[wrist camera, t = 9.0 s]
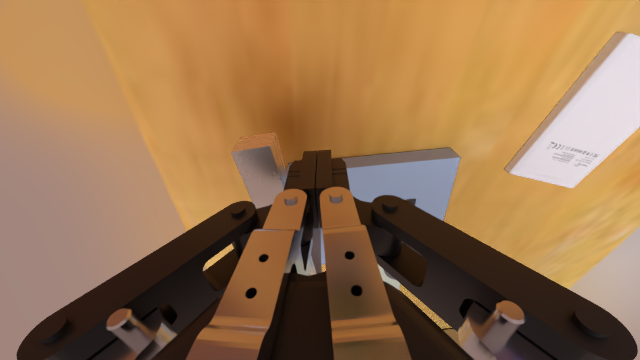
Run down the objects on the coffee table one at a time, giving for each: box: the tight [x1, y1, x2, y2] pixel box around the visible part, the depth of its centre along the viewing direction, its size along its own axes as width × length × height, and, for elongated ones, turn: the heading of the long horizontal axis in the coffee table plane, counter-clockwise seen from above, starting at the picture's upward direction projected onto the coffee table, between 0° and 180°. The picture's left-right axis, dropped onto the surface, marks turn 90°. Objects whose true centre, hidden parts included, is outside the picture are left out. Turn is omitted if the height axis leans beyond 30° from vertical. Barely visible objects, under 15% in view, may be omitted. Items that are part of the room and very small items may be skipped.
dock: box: [287, 148, 461, 274], centre depth 23 cm, size 14×16×9 cm
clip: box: [231, 132, 316, 275], centre depth 15 cm, size 4×16×2 cm, turn 9°
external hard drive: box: [505, 33, 640, 188], centre depth 21 cm, size 2×8×12 cm
